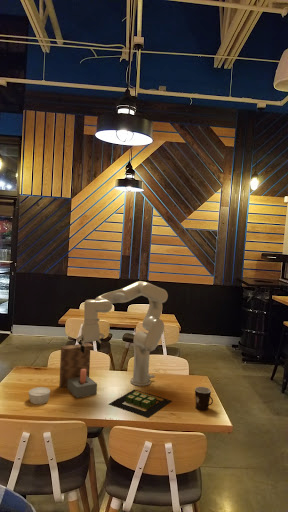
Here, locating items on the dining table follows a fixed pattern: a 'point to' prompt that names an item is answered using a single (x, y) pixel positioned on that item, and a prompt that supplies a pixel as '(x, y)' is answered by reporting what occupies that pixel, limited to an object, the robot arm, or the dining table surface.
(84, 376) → the peg
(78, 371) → the wood grain panel
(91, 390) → the socket block
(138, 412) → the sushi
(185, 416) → the dining table surface
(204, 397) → the coffee mug
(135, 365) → the robot arm
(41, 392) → the ramekin
